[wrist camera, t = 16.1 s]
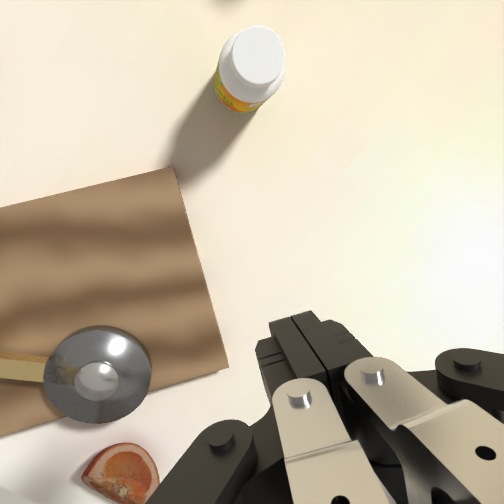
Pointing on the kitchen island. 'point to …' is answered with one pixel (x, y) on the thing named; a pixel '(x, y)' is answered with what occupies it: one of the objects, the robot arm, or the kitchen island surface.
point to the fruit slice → (123, 474)
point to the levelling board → (103, 283)
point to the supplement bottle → (249, 69)
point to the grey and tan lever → (88, 373)
